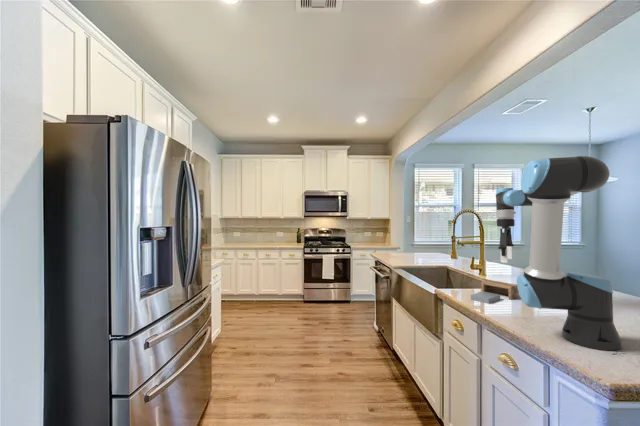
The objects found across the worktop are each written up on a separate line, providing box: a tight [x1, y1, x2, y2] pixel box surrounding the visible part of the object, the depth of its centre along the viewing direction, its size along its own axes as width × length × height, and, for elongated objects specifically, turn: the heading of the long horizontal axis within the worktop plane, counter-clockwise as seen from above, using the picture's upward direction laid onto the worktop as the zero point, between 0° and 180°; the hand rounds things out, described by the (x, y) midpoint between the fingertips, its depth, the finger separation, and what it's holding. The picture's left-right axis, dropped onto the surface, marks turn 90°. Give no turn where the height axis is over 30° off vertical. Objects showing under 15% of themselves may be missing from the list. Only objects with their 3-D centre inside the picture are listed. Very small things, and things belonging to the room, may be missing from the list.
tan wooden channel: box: [480, 279, 520, 301], centre depth 157 cm, size 8×15×7 cm, turn 31°
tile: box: [470, 290, 501, 305], centre depth 150 cm, size 12×9×3 cm
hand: (506, 260), depth 143 cm, fingers open, 13 cm apart
